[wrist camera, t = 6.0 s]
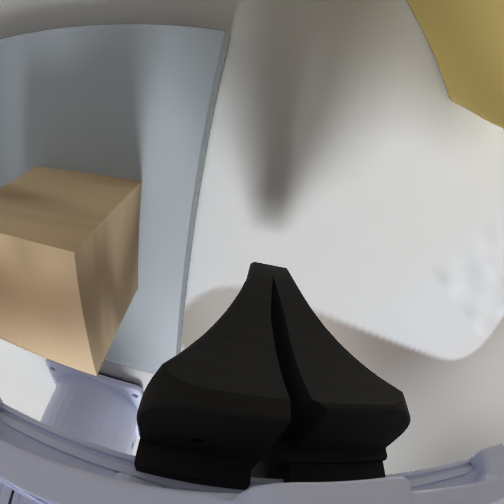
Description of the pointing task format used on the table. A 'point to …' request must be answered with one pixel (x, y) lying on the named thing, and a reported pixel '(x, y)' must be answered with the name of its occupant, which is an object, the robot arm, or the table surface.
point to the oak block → (67, 263)
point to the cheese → (468, 51)
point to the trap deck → (122, 144)
